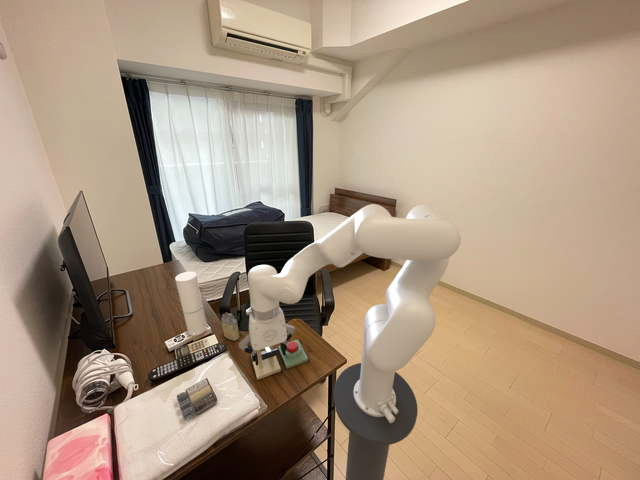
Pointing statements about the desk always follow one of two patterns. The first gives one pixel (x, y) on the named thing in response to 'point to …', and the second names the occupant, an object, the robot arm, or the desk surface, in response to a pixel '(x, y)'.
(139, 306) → the desk surface
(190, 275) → the cylindrical container
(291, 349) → the button
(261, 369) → the cream lever stand
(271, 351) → the lever
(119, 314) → the desk surface
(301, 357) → the control box
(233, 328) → the yellow grey jar
